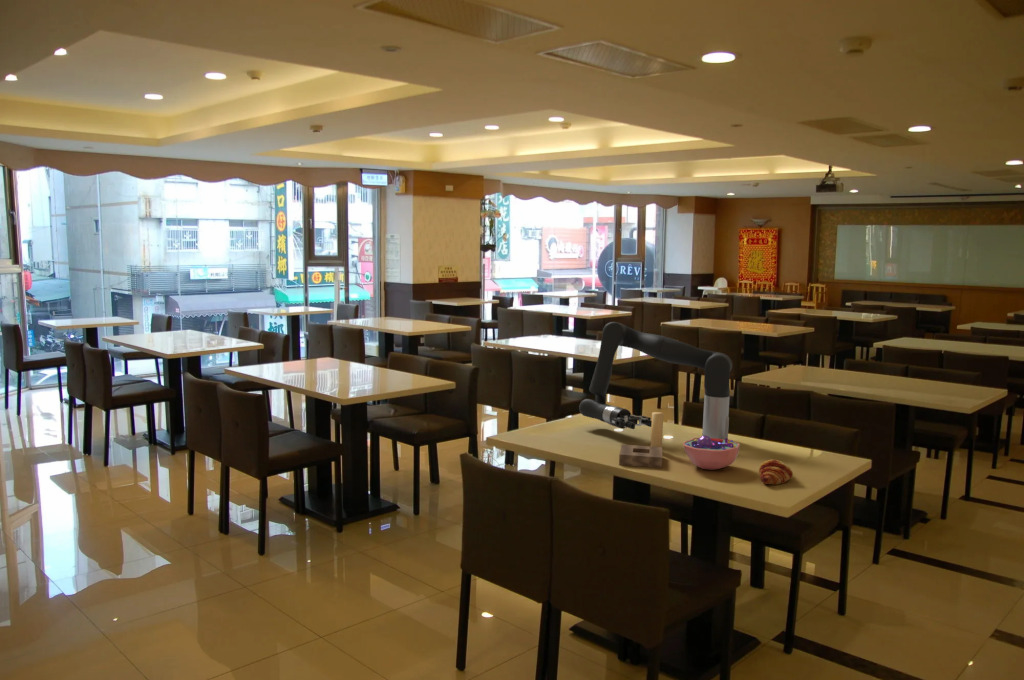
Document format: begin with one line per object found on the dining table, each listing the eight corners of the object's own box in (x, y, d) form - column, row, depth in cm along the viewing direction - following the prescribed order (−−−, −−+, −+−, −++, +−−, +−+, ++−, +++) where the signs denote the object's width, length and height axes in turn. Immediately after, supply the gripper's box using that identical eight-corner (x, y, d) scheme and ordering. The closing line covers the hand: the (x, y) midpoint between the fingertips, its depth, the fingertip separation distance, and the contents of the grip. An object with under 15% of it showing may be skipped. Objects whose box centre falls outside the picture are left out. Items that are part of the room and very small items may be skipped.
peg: (661, 450, 274) (663, 412, 272) (661, 453, 270) (663, 414, 268) (650, 449, 275) (652, 411, 273) (650, 452, 271) (652, 413, 269)
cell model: (751, 470, 251) (753, 437, 250) (706, 478, 241) (708, 443, 240) (714, 458, 266) (716, 426, 264) (670, 464, 256) (672, 431, 254)
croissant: (773, 480, 253) (763, 458, 254) (802, 471, 247) (792, 448, 249) (756, 495, 235) (745, 470, 236) (787, 485, 230) (776, 460, 231)
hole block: (661, 457, 265) (662, 447, 265) (661, 467, 251) (662, 457, 251) (621, 454, 268) (621, 444, 267) (619, 464, 254) (619, 454, 254)
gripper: (602, 408, 288) (628, 416, 274) (632, 405, 295) (659, 413, 281) (601, 427, 289) (627, 437, 275) (631, 424, 296) (658, 433, 282)
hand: (643, 425), depth 278 cm, fingers open, 8 cm apart
